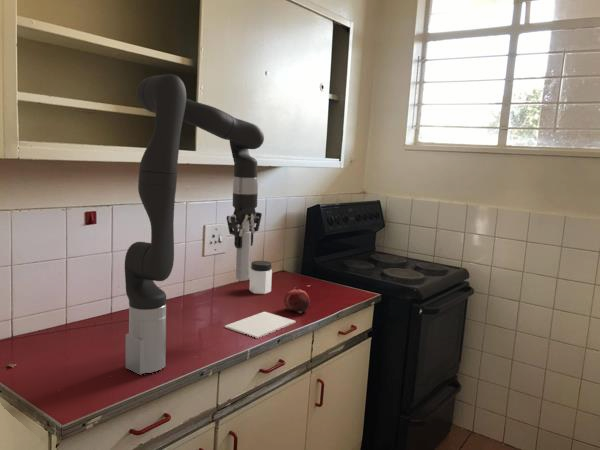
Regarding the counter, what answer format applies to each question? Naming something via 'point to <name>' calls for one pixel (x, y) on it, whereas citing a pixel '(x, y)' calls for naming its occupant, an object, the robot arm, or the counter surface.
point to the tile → (260, 324)
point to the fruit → (297, 300)
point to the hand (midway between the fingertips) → (243, 246)
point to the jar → (260, 277)
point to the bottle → (244, 255)
